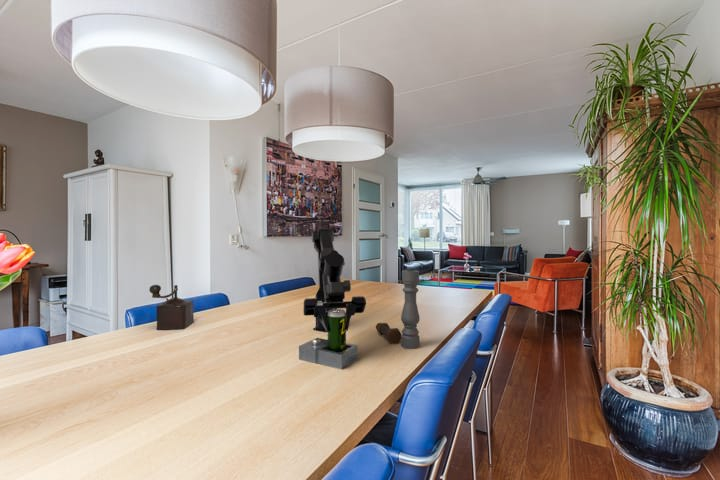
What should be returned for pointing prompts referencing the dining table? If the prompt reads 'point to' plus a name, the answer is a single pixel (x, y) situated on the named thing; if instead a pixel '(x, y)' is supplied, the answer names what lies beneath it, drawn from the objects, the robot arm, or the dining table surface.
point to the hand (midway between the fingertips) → (337, 330)
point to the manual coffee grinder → (172, 311)
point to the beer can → (336, 330)
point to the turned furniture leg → (410, 310)
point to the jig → (327, 354)
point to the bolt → (389, 333)
